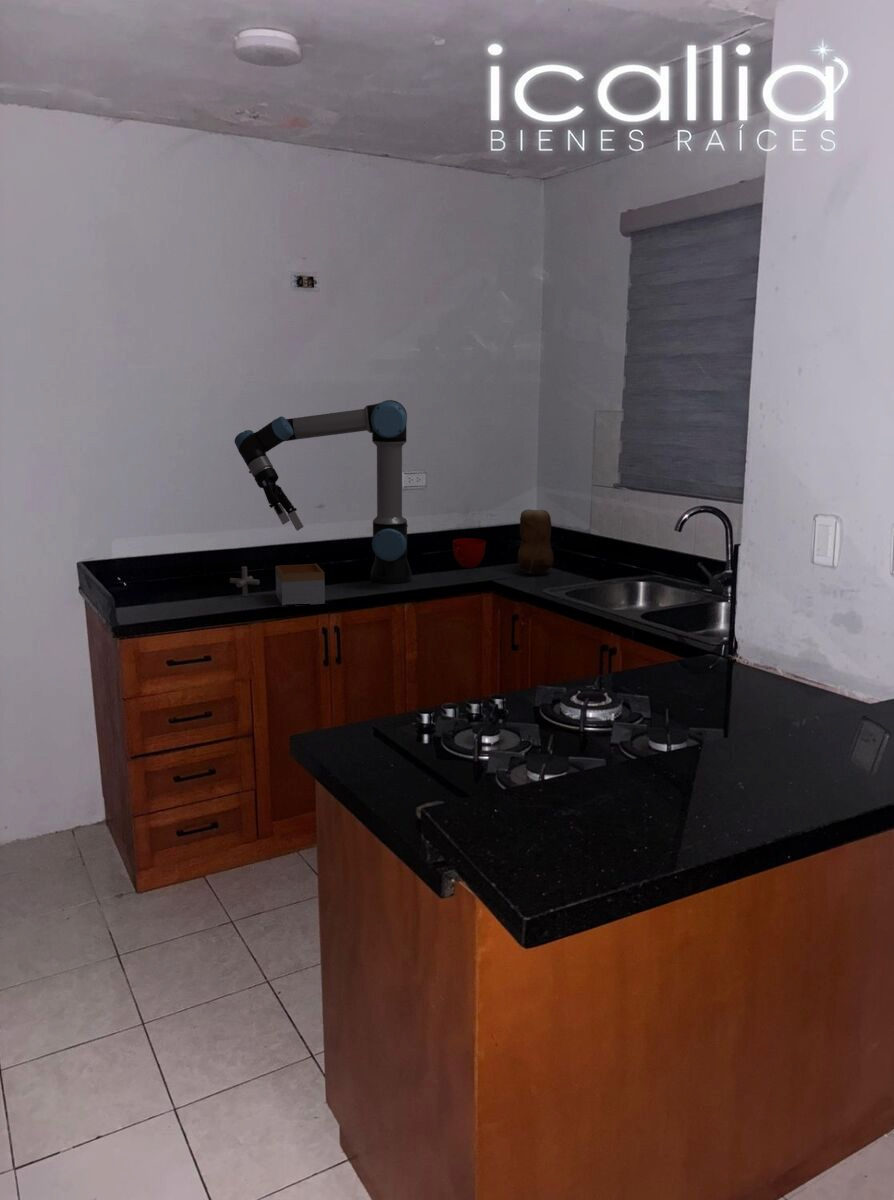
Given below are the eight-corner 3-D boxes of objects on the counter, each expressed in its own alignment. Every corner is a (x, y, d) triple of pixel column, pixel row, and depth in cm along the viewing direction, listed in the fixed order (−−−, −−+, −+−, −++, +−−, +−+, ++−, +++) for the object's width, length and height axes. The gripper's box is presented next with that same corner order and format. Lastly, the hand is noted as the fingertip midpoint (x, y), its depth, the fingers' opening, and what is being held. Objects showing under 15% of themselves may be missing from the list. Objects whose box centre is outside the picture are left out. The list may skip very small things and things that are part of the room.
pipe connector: (253, 600, 312) (252, 570, 309) (225, 598, 314) (224, 569, 311) (264, 593, 321) (264, 564, 319) (237, 591, 323) (236, 563, 321)
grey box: (317, 593, 322) (316, 563, 319) (324, 603, 309) (324, 572, 306) (276, 596, 318) (275, 565, 315) (282, 606, 305) (281, 574, 302)
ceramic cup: (440, 568, 364) (440, 543, 362) (462, 561, 378) (463, 537, 376) (469, 572, 358) (469, 547, 355) (491, 565, 372) (491, 540, 369)
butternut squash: (532, 569, 366) (535, 505, 360) (559, 574, 357) (562, 509, 351) (509, 574, 356) (511, 508, 350) (536, 580, 347) (539, 513, 341)
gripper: (268, 486, 330) (296, 536, 327) (240, 470, 306) (270, 525, 302) (285, 474, 329) (314, 525, 326) (259, 458, 305) (289, 513, 301)
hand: (293, 525), depth 314 cm, fingers open, 13 cm apart
